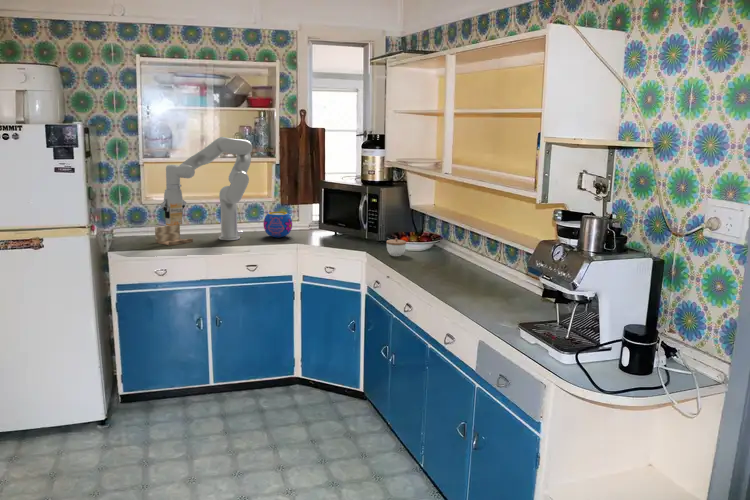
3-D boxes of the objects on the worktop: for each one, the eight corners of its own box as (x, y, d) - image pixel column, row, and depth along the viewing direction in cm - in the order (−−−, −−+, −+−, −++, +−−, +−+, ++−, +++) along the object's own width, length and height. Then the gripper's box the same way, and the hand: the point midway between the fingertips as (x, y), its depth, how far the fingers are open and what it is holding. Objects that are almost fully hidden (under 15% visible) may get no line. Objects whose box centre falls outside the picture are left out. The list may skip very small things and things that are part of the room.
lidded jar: (387, 257, 351) (387, 240, 349) (385, 252, 362) (385, 236, 360) (406, 257, 352) (407, 240, 350) (404, 253, 363) (404, 236, 361)
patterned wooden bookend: (178, 238, 384) (178, 223, 382) (192, 241, 377) (192, 226, 375) (155, 242, 372) (154, 227, 370) (169, 245, 364) (169, 230, 362)
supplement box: (170, 226, 367) (169, 203, 364) (165, 224, 369) (164, 202, 367) (182, 224, 373) (182, 201, 370) (177, 223, 376) (177, 200, 373)
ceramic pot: (294, 234, 407) (294, 211, 404) (290, 240, 390) (290, 215, 387) (266, 233, 407) (266, 210, 404) (261, 239, 390) (260, 214, 387)
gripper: (181, 185, 376) (182, 215, 379) (156, 187, 362) (156, 218, 366) (190, 186, 372) (190, 216, 375) (164, 188, 358) (165, 219, 361)
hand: (174, 217), depth 370 cm, fingers closed on supplement box, 8 cm apart
